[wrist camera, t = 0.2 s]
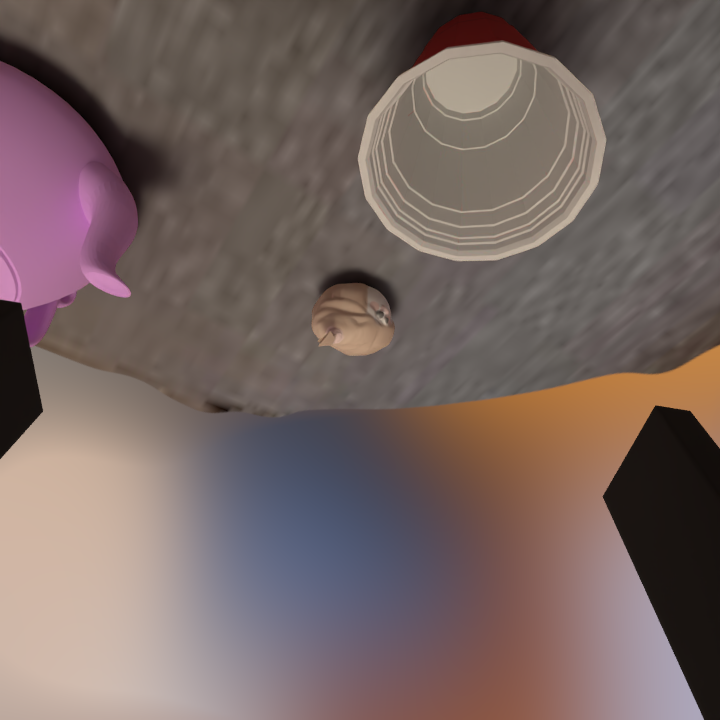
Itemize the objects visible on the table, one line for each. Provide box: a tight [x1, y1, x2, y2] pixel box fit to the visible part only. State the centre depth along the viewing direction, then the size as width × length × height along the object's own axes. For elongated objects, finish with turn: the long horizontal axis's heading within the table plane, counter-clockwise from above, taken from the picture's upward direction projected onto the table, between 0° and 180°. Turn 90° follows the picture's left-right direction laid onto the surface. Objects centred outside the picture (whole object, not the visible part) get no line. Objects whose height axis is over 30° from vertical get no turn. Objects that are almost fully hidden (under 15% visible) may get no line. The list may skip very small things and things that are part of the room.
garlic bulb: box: [312, 283, 395, 356], centre depth 44 cm, size 7×6×8 cm
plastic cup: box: [358, 12, 606, 261], centre depth 28 cm, size 11×11×12 cm
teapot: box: [0, 61, 138, 347], centre depth 34 cm, size 22×22×14 cm
